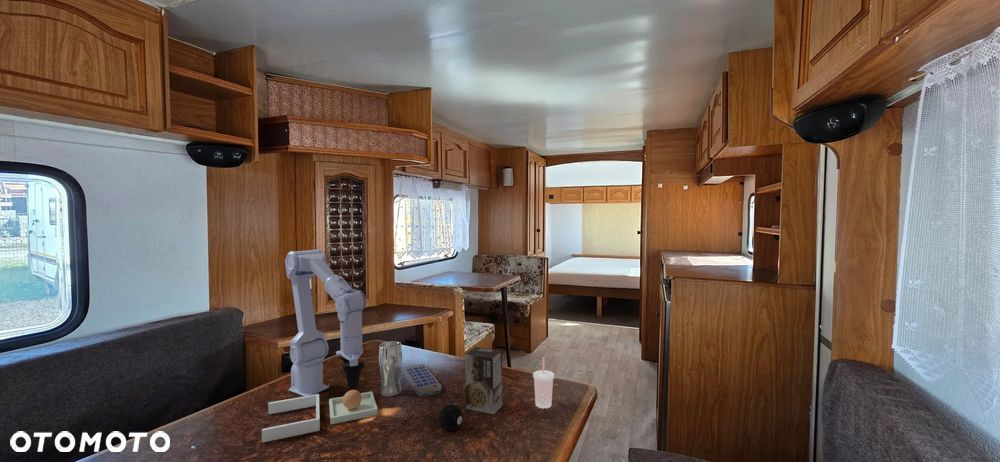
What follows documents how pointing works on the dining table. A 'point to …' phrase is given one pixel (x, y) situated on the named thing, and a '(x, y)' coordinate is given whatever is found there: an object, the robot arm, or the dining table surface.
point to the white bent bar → (296, 427)
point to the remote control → (422, 380)
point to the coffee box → (483, 380)
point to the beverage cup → (543, 387)
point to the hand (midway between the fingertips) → (352, 382)
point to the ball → (352, 399)
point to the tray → (344, 414)
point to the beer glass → (390, 367)
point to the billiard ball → (450, 417)
